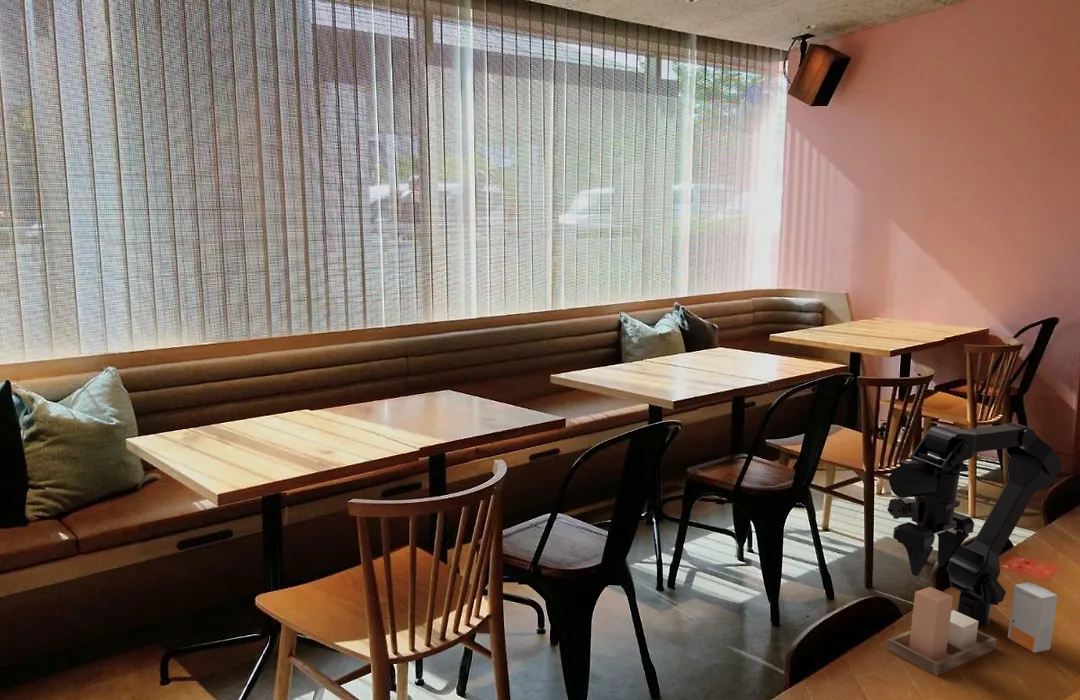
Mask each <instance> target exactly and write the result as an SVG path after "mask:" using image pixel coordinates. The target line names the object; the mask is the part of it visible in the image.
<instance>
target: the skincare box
mask: <svg viewBox="0 0 1080 700" xmlns="http://www.w3.org/2000/svg"><path fill="white" fill-rule="evenodd" d="M1013 590H1014V591H1013V597H1012V604H1011V611H1010V616H1009V617H1010V618H1009V626H1008V633H1007V639H1009V640H1011V641H1013V642H1014V643H1016V644H1018V645H1020V646H1022V647H1024V648H1026V649H1027V650H1029V651H1030V652H1032V653H1040V652H1045V651H1048V650H1051V645H1052V639H1053V632H1054V631H1053V630H1054V626H1055V625H1054V623H1055V617H1056V610H1057V604H1058V598H1059V596H1058V594H1056V593H1053V592H1051V591H1050V590H1049V589H1047V588H1044V587H1042V586H1039V585H1037V584H1035V583H1033V582H1031V581H1028V582H1023V583H1016V584H1015V585H1014V589H1013Z"/></svg>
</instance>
